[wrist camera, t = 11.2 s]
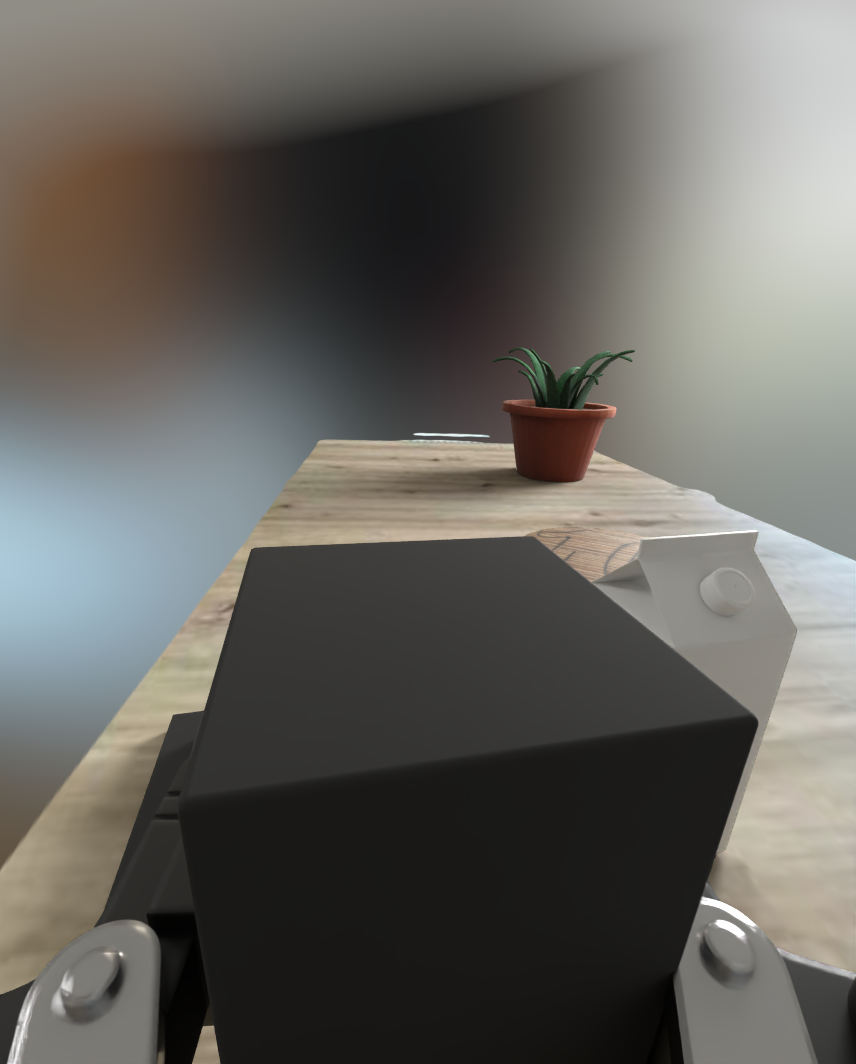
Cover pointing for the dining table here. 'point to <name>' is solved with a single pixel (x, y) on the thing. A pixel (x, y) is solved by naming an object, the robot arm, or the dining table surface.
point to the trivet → (591, 548)
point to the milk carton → (713, 618)
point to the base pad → (162, 779)
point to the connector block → (448, 810)
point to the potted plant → (557, 420)
